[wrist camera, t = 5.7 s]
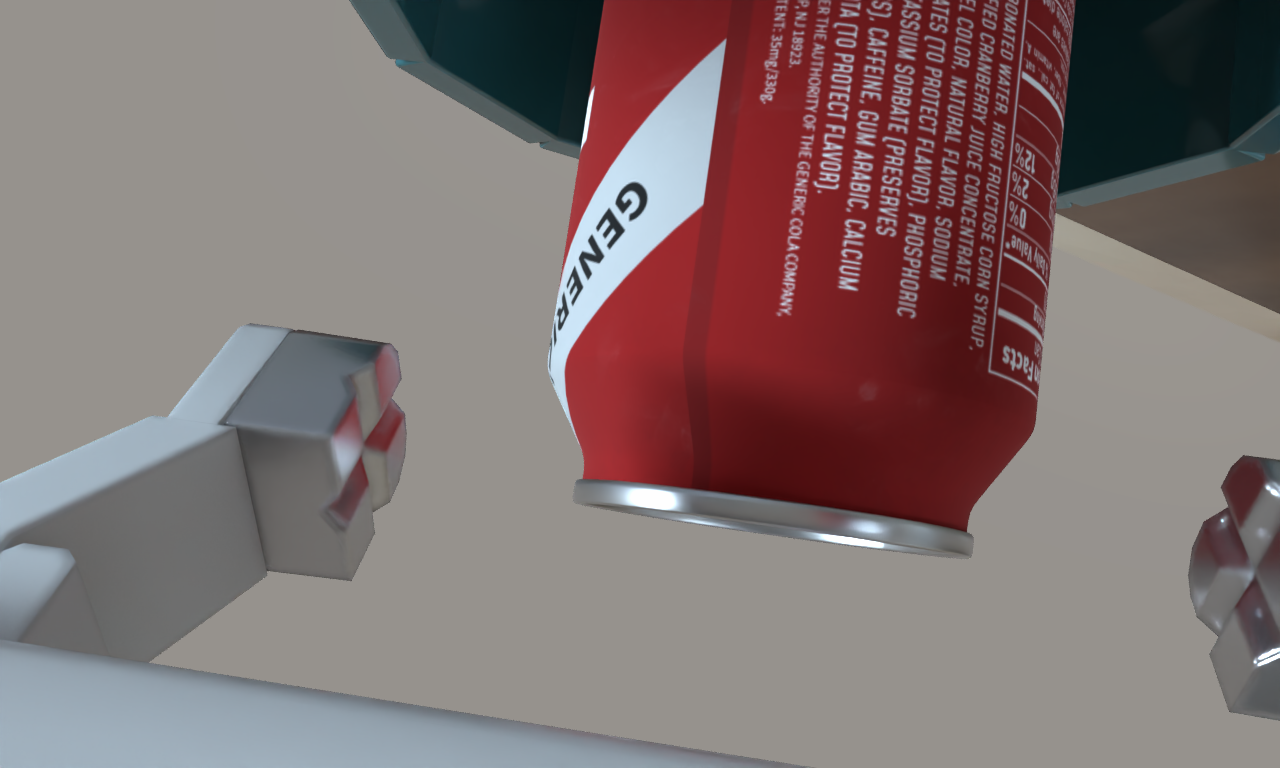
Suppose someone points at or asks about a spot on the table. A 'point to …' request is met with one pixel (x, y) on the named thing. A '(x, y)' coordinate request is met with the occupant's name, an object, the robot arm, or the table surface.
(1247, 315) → the table surface
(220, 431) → the robot arm
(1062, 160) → the bowl
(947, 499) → the soda can
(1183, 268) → the serving board
